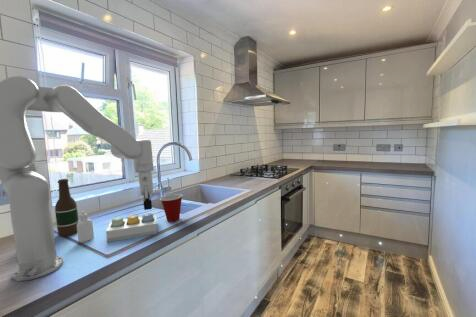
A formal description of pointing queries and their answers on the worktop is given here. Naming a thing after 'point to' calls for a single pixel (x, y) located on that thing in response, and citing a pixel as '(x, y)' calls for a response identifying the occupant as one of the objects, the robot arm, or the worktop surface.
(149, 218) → the button slate
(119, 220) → the button sage
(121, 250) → the worktop surface
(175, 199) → the plastic cup
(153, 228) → the white slotted frame
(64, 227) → the beer bottle
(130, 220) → the button amber
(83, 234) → the eye dropper bottle
